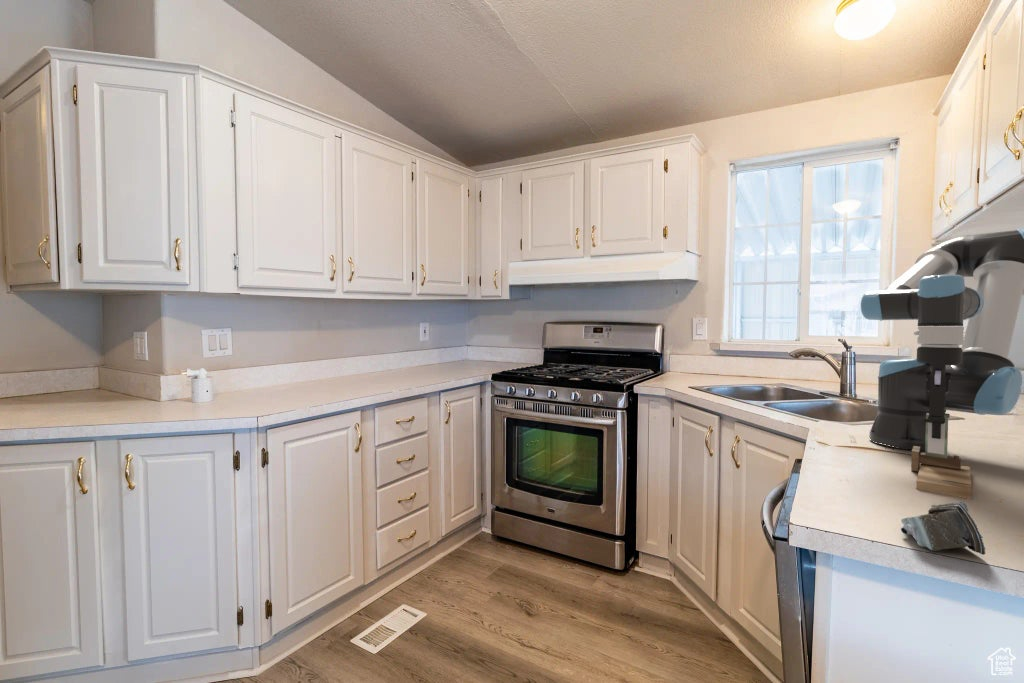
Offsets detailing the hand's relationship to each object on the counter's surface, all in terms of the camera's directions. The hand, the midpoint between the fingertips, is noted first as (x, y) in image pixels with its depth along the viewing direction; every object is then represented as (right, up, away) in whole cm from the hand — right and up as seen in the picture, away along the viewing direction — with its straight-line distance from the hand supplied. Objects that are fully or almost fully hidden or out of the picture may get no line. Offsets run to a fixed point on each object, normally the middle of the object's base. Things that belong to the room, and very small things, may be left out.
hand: (936, 449), depth 106 cm
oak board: (-3, -6, -5) cm, 8 cm away
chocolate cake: (-27, -9, -29) cm, 41 cm away
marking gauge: (0, -5, 0) cm, 5 cm away
